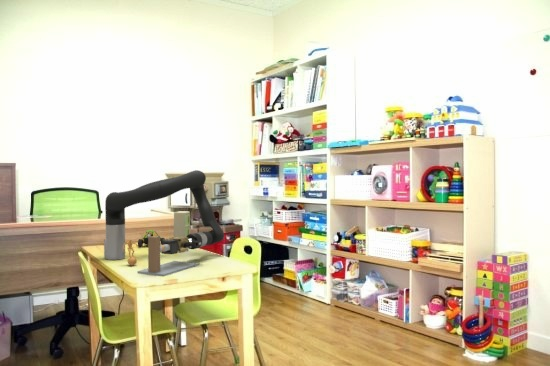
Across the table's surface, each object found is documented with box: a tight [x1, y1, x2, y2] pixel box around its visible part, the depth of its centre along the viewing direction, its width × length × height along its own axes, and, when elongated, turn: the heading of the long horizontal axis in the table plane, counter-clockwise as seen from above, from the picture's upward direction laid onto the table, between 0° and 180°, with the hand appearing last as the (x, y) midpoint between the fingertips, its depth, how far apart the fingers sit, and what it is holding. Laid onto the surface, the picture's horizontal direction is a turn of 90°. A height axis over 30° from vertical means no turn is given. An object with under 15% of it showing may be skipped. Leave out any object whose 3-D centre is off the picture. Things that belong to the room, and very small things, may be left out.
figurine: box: [122, 239, 140, 267], centre depth 215 cm, size 8×6×12 cm
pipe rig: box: [137, 235, 200, 277], centre depth 208 cm, size 14×26×16 cm, turn 156°
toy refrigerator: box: [173, 210, 191, 237], centre depth 264 cm, size 8×7×21 cm
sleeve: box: [168, 236, 189, 254], centre depth 214 cm, size 6×6×6 cm
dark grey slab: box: [160, 238, 178, 255], centre depth 208 cm, size 6×4×6 cm
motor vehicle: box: [137, 230, 166, 248], centre depth 273 cm, size 12×19×11 cm, turn 179°
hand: (176, 245), depth 212 cm, fingers open, 8 cm apart
